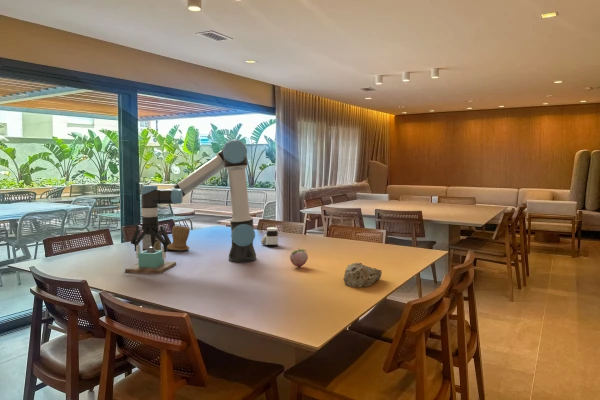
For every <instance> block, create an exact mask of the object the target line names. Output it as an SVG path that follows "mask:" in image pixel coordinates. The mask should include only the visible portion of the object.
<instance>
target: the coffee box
mask: <svg viewBox="0 0 600 400" xmlns="http://www.w3.org/2000/svg"><path fill="white" fill-rule="evenodd" d="M158 231H159V233H160V235H161V236H162V233H161V231H160V230H159V229H158ZM141 241H142V252H143V251H145V250H147V249H148V248H149V247H154V248H155V250H162V243H161V242H160V240H159V239H158V238H157V237H156V236H155V235H150V234H149V235H147V234H146V235H145V236H144V238H143V239H142V240H141Z"/></svg>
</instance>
